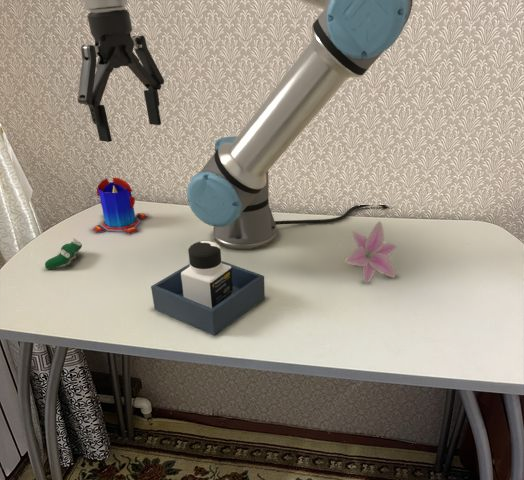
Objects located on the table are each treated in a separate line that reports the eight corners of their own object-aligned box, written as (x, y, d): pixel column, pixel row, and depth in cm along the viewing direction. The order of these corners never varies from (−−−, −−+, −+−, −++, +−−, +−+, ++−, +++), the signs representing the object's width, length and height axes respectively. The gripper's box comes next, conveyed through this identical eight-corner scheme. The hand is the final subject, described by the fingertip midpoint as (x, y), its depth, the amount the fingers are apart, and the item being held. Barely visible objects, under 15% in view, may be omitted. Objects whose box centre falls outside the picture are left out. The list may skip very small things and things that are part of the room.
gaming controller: (55, 277, 126) (69, 262, 122) (41, 266, 124) (54, 250, 121) (74, 258, 133) (87, 243, 129) (61, 247, 132) (74, 232, 128)
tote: (206, 276, 121) (204, 254, 118) (264, 298, 113) (264, 275, 110) (154, 309, 111) (150, 286, 108) (214, 335, 103) (212, 311, 100)
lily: (333, 285, 119) (352, 258, 111) (335, 242, 125) (352, 213, 116) (385, 298, 121) (407, 272, 113) (384, 255, 127) (405, 228, 119)
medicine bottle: (213, 314, 108) (208, 258, 100) (183, 304, 111) (176, 249, 103) (234, 297, 112) (230, 242, 105) (205, 288, 115) (200, 234, 108)
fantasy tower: (90, 232, 140) (79, 185, 133) (107, 213, 149) (98, 168, 142) (135, 234, 138) (127, 187, 131) (149, 214, 148) (143, 169, 140)
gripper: (142, 3, 111) (161, 116, 123) (36, 18, 95) (70, 146, 107) (170, 2, 107) (186, 119, 119) (64, 17, 91) (95, 150, 103)
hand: (131, 132), depth 113 cm, fingers open, 13 cm apart
